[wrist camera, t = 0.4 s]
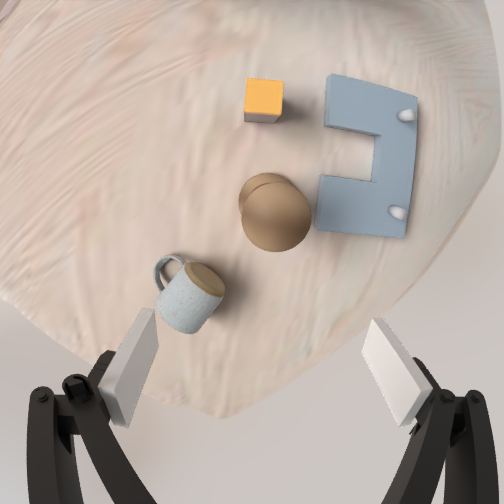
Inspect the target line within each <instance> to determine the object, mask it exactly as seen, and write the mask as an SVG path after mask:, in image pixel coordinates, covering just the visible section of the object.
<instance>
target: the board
mask: <svg viewBox="0 0 504 504" xmlns="http://www.w3.org/2000/svg"><path fill="white" fill-rule="evenodd" d="M324 126H325V127H331V128H337V129H343V130H348V131H353V132H358V133H363V134H368V135H372V136H375V141H374V153H373V164H372V174H371V182H369V181H362V180H356V179H349V178H342V177H335V176H327V175H320V179H319V189H318V198H317V207H316V216H315V224H314V227H315V228H316V229H317V230H318V231H330V232H342V233H353V234H364V235H375V236H385V237H396V238H404V234H405V228H406V223H407V217H408V211H409V204H410V198H411V190H412V182H413V173H414V163H415V152H416V136H417V97H415V96H412V95H409V94H406V93H403V92H400V91H397V90H394V89H391V88H387V87H384V86H381V85H377V84H374V83H370V82H366V81H362V80H358V79H354V78H350V77H346V76H341V75H336V74H330V75H329V76H328V77H327V78H326V100H325V117H324Z"/></svg>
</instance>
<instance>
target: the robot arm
mask: <svg viewBox="0 0 504 504" xmlns="http://www.w3.org/2000/svg"><path fill="white" fill-rule="evenodd" d="M158 347H159V344H158V336H157V328H156V320H155V311H154V309H146V308H142V309H141V311H140V313H139V314H138V316H137V318H136V319H135V321H134V323H133V324H132V326H131V328H130V329H129V331H128V333H127V335H126V336H125V338H124V340H123V341H122V343H121V345H120V347H119V348H118V350H117V352H115V351H109V350H107V351H106V352H104V353H103V354H102V355H100V357H99V359H98V360H97V362H96V364H95V365H94V367H93V369H92V370H91V372H90V374H89V375H88V377H86V376H84V375H81V374H73V375H70V376H68V377H67V378H66V379H64V381H63V383H62V388H63V390H64V392H65V395H54V393H53V391H52V390H51V389H50V388H48V387H43V386H42V387H38V388H36V389H34V390H33V392H32V393H31V395H30V403H29V412H28V426H27V479H28V480H27V481H28V492H29V503H30V504H84V503H83V498H82V493H81V488H80V482H79V477H78V471H77V464H76V456H75V447H74V437H73V435H81V437H82V439H83V442H84V444H85V446H86V449H87V451H88V453H89V455H90V457H91V460H92V462H93V464H94V466H95V468H96V470H97V472H98V474H99V476H100V478H101V480H102V482H103V484H104V486H105V488H106V489H107V491H108V493H109V495H110V497H111V498H112V500H113V502H114V503H115V504H157V503H156V502H155V500H154V499H153V497H152V496H151V495H150V493H149V492H148V491H147V489H146V487H145V486H144V485H143V483H142V482H141V480H140V479H139V477H138V475H137V474H136V472H135V471H134V469H133V468H132V466H131V464H130V463H129V461H128V459H127V458H126V456H125V454H124V452H123V451H122V449H121V447H120V445H119V444H118V442H117V440H116V438H115V436H114V435H113V432H112V430H111V428H110V426H109V424H108V423H109V421H110V418H111V420H112V422H113V424H114V425H117V426H121V427H125V428H129V425H130V422H131V419H132V416H133V413H134V411H135V408H136V405H137V402H138V400H139V397H140V394H141V392H142V389H143V386H144V384H145V381H146V378H147V376H148V373H149V370H150V368H151V365H152V363H153V360H154V358H155V355H156V352H157V350H158ZM361 353H362V355H363V357H364V359H365V361H366V363H367V365H368V367H369V368H370V371H371V372H372V374H373V376H374V378H375V380H376V382H377V384H378V386H379V388H380V390H381V392H382V394H383V396H384V398H385V400H386V402H387V404H388V406H389V408H390V410H391V412H392V414H393V416H394V419H395V421H396V422H397V425H398V427H401V426H405V425H408V424H411V422H412V421H413V419H414V418H415V417H416V419H417V421H418V422H417V423H416V425H415V426H414V427H413V429H412V430H411V432H410V433H409V434H411V433H412V432H413V433H412V435H411V438H410V441H409V444H408V447H407V449H406V451H405V454H404V456H403V459H402V461H401V464H400V466H399V468H398V471H397V473H396V475H395V477H394V479H393V482H392V484H391V486H390V488H389V490H388V492H387V494H386V496H385V498H384V500H383V501H382V503H381V504H431V502H432V499H433V497H434V494H435V491H436V488H437V485H438V482H439V478H440V475H441V472H442V468H443V465H444V461H445V490H444V503H443V504H499V487H498V473H497V462H496V454H495V447H494V440H493V434H492V429H491V424H490V419H489V415H488V410H487V406H486V401H485V399H484V396H483V395H482V394H481V392H479V391H477V390H470V391H468V393H467V394H466V396H465V397H455V395H454V394H453V393H452V392H451V391H449V390H446V389H441V388H440V387H439V385H438V383H437V382H436V381H435V379H434V378H433V376H432V375H431V374H430V372H429V371H428V369H426V367H425V365H424V364H423V363H422V361H420V360H419V359H417V358H416V357H413V358H412V357H411V356H410V354H409V353H408V351H407V350H406V349H405V347H404V346H403V345H402V343H401V342H400V340H399V339H398V338H397V336H396V335H395V334H394V332H393V331H392V330H391V328H390V327H389V326H388V324H387V323H386V322H385V320H384V319H383V318H372V321H371V324H370V327H369V331H368V334H367V337H366V340H365V343H364V346H363V349H362V352H361Z"/></svg>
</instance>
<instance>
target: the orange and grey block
mask: <svg viewBox="0 0 504 504" xmlns="http://www.w3.org/2000/svg"><path fill="white" fill-rule="evenodd" d="M282 96H283V81H276V80H266V79H253V78H247V83H246V95H245V107H244V121H249V122H262V123H275V121H276V120H277V119H278V118H279V116H280V115H281V110H282Z"/></svg>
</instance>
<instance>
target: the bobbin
mask: <svg viewBox="0 0 504 504" xmlns="http://www.w3.org/2000/svg"><path fill="white" fill-rule="evenodd" d="M239 209H240V213H241V215H242V226H243V230H244V232H245V234H246V236H247V237H248V239H249V240H250V241H251V242H252V243H253V244H254V245H255V246H257V247H259V248H260V249H263V250H265V251H269V252H282V251H286V250H289V249H291V248H293V247H295V246H296V245H298V244H299V243H300V242H301V241H302V240H303V239H304V238H305V236H306V235H307V233H308V231H309V228H310V225H311V210H310V206H309V204H308V202H307V200H306V198H305V197H304V196H303V195H302V193H301V192H299V191H298V190H297V189H295V188H294V187H293V186H292V185H291V183H290V182H289V181H288V180H286V179H285V178H283V177H282V176H279V175H277V174H273V173H263V174H259V175H256V176H254V177H252V178H251V179H249V180H248V181H247V182H246V183H245V185H244V186H243V188H242V190H241V192H240V195H239Z"/></svg>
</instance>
